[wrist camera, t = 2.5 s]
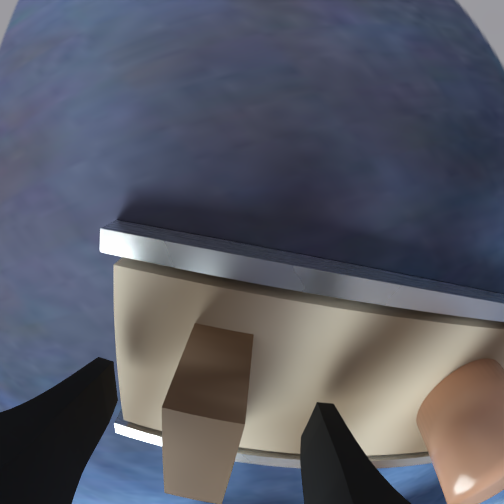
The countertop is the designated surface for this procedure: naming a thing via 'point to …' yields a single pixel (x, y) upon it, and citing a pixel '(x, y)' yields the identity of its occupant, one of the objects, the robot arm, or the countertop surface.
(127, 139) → the countertop surface
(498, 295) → the guide rails
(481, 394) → the tan rounded piece
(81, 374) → the robot arm
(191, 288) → the beige board with block
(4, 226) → the countertop surface
